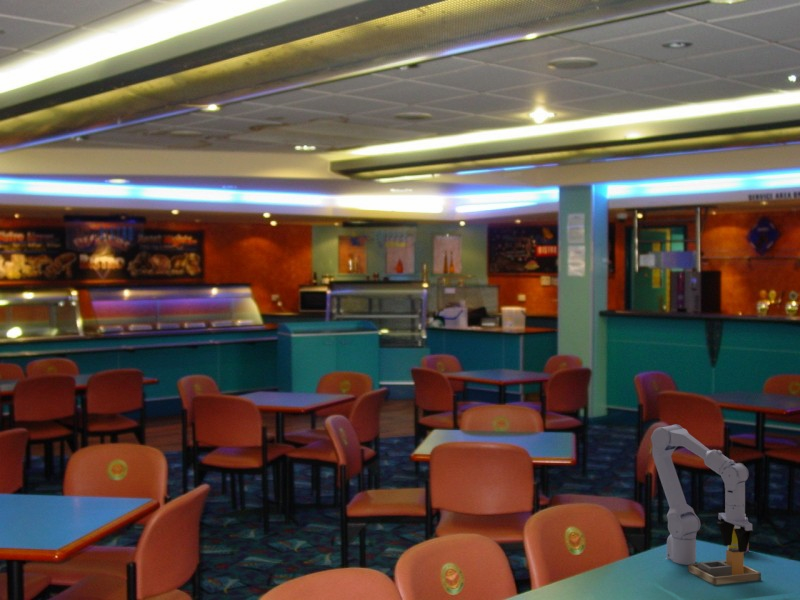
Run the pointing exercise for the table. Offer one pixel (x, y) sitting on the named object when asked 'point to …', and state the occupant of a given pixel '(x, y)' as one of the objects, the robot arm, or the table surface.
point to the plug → (735, 560)
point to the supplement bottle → (734, 539)
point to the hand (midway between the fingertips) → (735, 548)
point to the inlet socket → (715, 568)
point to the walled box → (746, 576)
